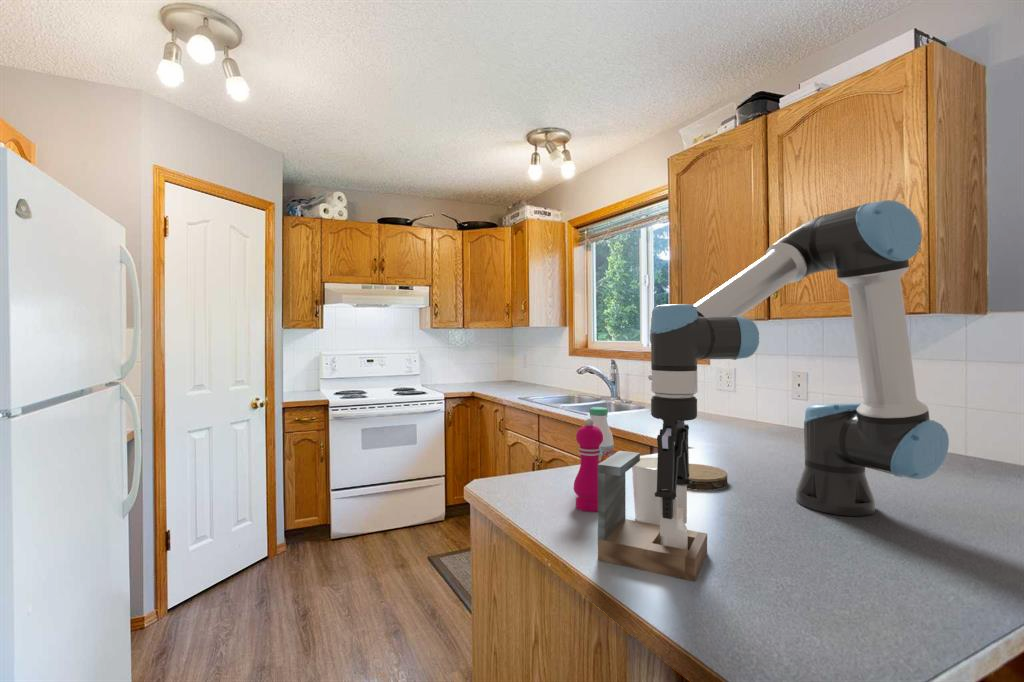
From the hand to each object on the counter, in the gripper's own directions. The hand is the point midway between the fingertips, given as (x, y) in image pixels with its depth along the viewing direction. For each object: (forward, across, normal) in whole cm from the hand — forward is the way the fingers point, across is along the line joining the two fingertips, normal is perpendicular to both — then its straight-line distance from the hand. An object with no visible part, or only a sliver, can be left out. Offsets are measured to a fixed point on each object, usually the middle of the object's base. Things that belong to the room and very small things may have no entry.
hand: (673, 528), depth 88 cm
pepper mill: (+6, -19, -22) cm, 30 cm away
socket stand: (+6, 0, -4) cm, 7 cm away
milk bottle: (+6, -36, -26) cm, 45 cm away
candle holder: (+6, -18, -8) cm, 20 cm away
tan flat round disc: (+6, -52, -6) cm, 53 cm away
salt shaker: (+6, 0, 0) cm, 6 cm away
